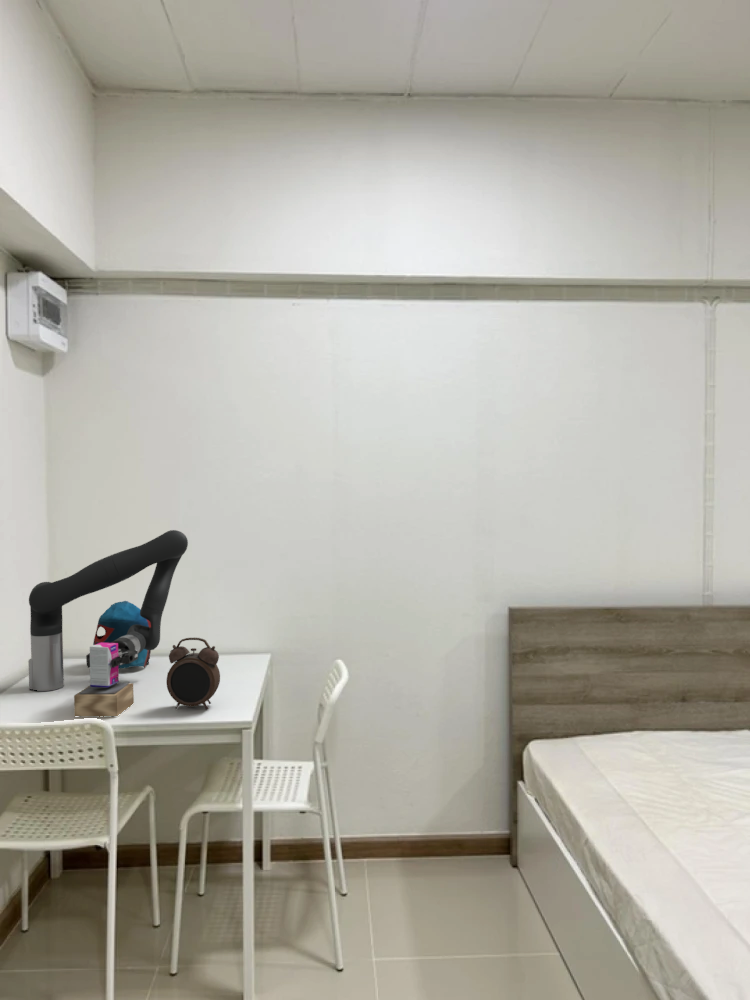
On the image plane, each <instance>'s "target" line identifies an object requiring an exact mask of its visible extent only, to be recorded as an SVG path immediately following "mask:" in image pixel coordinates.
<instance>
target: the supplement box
mask: <svg viewBox="0 0 750 1000" xmlns="http://www.w3.org/2000/svg"><path fill="white" fill-rule="evenodd" d="M89 653H90V668H89V686H90V687H102V688H108V687H110V686H111V685H113V684H115V683H120V680H119V679H120V678H119V676H120V675H119V674H120V673H119V669H118V665H117V666H116V667H112V666H111V660H112V659H114V658H115V657H118V643H102V642H101V643H98V644H96V645H93V644H92V645H90V646H89Z"/></svg>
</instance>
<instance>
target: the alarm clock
mask: <svg viewBox="0 0 750 1000" xmlns="http://www.w3.org/2000/svg"><path fill="white" fill-rule="evenodd" d="M185 641H199V642H203V644H204V645H205V647H204V648H202V649H201V650H200V651H199V652H196V651H197V648H195V647H194V648H190V650H189V649H188V648H187V647H185V646H184V645H183V646H180V645H181V644H182V642H185ZM169 651H170V652H169V655H168V659H169V663H170V664H173V665H172V666H171V667H170V668H169V670H168V672H167V676H166V688H167V691H168V693H169V695H170V697H171V698H172V699H173V700H174V701H175V702H176V703H177V704H176V706H175V708H174V709H175V710H177V709H178V708H179V707H180V705H182V706H184V707H191V708H193V707H197V706H200V705H203V706H204V708H205V710H206V709H208V710H209V707H208V706H207V703H206V702H208V704H209V705H210V704H212V701H210V699H211V698H212V697H213V696H214V695H215V693H216V692H217V690H218V688H219V686H220V682H221V672H220V669H219V667H218V665H217V664H218V662H219V659H220V655H219V653H218V651H217V650H216V646H215V645H213V646H210V644H209V643H208V642H207V640H206V639H204V638H200V637H185V638H183V639H180V640H179V641H178V643H177V645H175V644H173V645H172V649H171V650H169ZM190 651H191V652H192V653H190Z"/></svg>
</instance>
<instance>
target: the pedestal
mask: <svg viewBox="0 0 750 1000" xmlns="http://www.w3.org/2000/svg"><path fill="white" fill-rule="evenodd" d="M134 698H135V697H134V683H133V682H132V683H129V682H118V683H115V684H113V685H111V686H110V687H108V688H102V687H90V685H88V686H86V687H85V688H84V689H82V690H81V691H79V692H77V693H76V694H74V695H73V699H74V700H73V703H74V704H73V705H74V709H73V710H74V717H75V716H99V717H98V718H101V717H100V716H103V717H102V718H105V717H104V716H118V715H119V714H121V713H122V712H123V711H124V710H126V709H127V708H128V707H129V708H130V707H132V706H133V705H134V704H135V701H134V700H135V699H134ZM133 703H134V704H133ZM132 704H133V705H132ZM131 705H132V706H131ZM129 708H128V709H129ZM128 709H127V710H128ZM127 710H126V711H127ZM124 712H125V711H124ZM124 712H123V713H124ZM123 713H122V714H123ZM122 714H121V715H122ZM119 716H120V715H119ZM119 716H118V717H119Z"/></svg>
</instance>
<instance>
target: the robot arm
mask: <svg viewBox="0 0 750 1000" xmlns="http://www.w3.org/2000/svg"><path fill="white" fill-rule="evenodd" d="M188 544H189V541H188V537H187V536H186V535H185V533H183V532H182V531H179V530H176V529H171V530H168V531H166V532H163V533H162V534H159V536H156V537H155V538H153V539H151V540H149V541H147V542H145V543H143V544H140V545H138V546H135V547H131V548H128V549H125V550H122V551H118V552H116V553H113V554H110V555H108V556H106V557H104V558H101V559H98V560H97V561H94V562H92V563H90V564H89V565H86V566H85V567H83V568H81V569H80V570H79V571H76V572H75V573H73V574H72V575H70V576H69V575H68V576H67V577H65V578H62V579H59V580H55V581H52V582H50V581H43V582H40V583H38V584H36V585H35V586H33V588H32V589H31V591H30V593H29V596H28V597H29V598H28V604H29V606H30V608H29V609H30V628H29V630H30V654H31V655H30V656H31V657H30V658H29V659H28V661H27V662H28V690H29V689H33V690H32V691H34V690H37V691H36V692H48V691H54V690H59V689H61V688H63V687H64V686H65V683H64V681H65V677H64V674H65V673H64V645H63V643H64V641H63V640H64V639H63V635H64V634H63V606H65V605H67V604H68V603H71V602H72V601H74V600H76V599H79V598H81V597H83V596H87V595H89V594H92V593H96V592H98V591H102V590H104V589H107V588H110V587H111V586H114V585H117V584H119V583H120V582H123V581H126V580H127V579H128V580H129V578H131V577H133V576H135V575H136V574H139V573H140V572H141V571H143V570H145V569H147V568H148V567H150V566H153V565H155V564H156V566H155V569H154V571H153V575H152V577H151V579H150V582H149V584H148V588H147V590H146V593H145V595H144V598H143V601H142V605H141V608H140V609H141V610H140V615H141V616H142V617H143V618H145V619H147V620H149V621H150V623H151V628H150V627H146V626H142V625H137V624H136V625H132V626H131V627H130V628H129V630H128V632H127V634H126V635H125V636H122V637H120V638H118V639H116V640H115V641H113V642H111V643H118V657H115V658H114V659H112V660H111V666H112V667H116V666H117V665H123V664H129V663H131V662H133V661H135V660H137V659H138V653H140V652H141V651H142V650H143V649H146V650H151V651H154V650H155V649H156V648H157V647H158V645H159V644H160V641H161V624H162V623H161V622H162V617H163V614H164V609H165V607H166V604H167V601H168V596H169V593H170V588H171V585H172V580H173V577H174V574H175V571H176V568H177V567H178V564H179V562H180V560H181V559H182V557H183V555H184V554H185V552H186V551H187V549H188V546H189V545H188ZM85 655H86V656H85V659H86V660H85V661H86V667H87V668H89V669H90V652H89V653H87V654H85Z"/></svg>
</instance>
